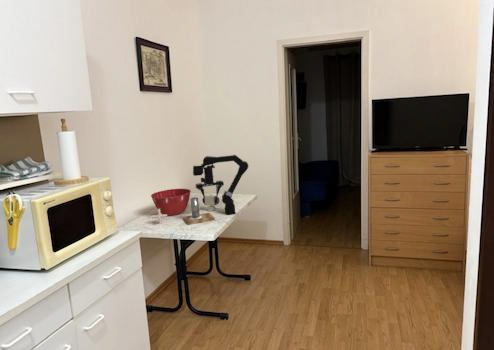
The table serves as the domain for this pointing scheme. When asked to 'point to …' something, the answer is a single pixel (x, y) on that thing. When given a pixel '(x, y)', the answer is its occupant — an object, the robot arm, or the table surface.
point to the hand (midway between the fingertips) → (210, 196)
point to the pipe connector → (159, 216)
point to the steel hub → (195, 207)
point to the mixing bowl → (171, 201)
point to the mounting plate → (202, 218)
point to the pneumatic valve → (211, 201)
